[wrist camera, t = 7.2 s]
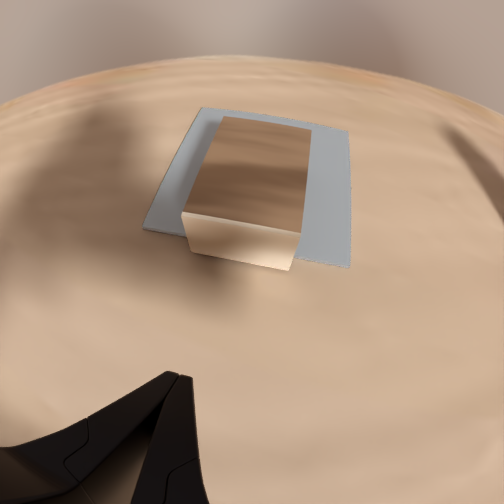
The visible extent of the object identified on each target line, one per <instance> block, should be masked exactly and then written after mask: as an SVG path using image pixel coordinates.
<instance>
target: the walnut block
mask: <svg viewBox="0 0 504 504" xmlns="http://www.w3.org/2000/svg"><path fill="white" fill-rule="evenodd" d="M311 132H312V130H309V129H304V128H299V127H293V126H288V125H282V124H277V123H271V122H264V121H258V120H251V119H243V118H236V117H227V116H223V118H222V121H221V123H220V125H219V127H218V129H217V131H216V134H215V136H214V138H213V140H212V142H211V145H210V147H209V149H208V151H207V154H206V156H205V158H204V160H203V163H202V165H201V167H200V170H199V172H198V175H197V177H196V179H195V182H194V184H193V187H192V189H191V191H190V194H189V196H188V199H187V201H186V204H185V206H184V209H183V212H182V214H181V218H182V222H183V225H184V229H185V232H186V236H187V239H188V243H189V246H190V250H191V252H194V253H199V254H204V255H209V256H215V257H220V258H225V259H230V260H235V261H240V262H245V263H250V264H255V265H261V266H266V267H271V268H276V269H282V270H287V271H289V268H290V265H291V262H292V260H293V257H294V254H295V251H296V249H297V246H298V243H299V240H300V237H301V229H302V220H303V212H304V203H305V194H306V185H307V175H308V165H309V155H310V144H311Z"/></svg>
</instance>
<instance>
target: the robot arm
mask: <svg viewBox="0 0 504 504" xmlns="http://www.w3.org/2000/svg"><path fill="white" fill-rule="evenodd" d="M0 504H209V501H208V498H207V494H206V491H205V487H204V484H203V478H202V472H201V465H200V459H199V448H198V438H197V428H196V416H195V403H194V389H193V378H192V377H190V376H186V375H182V374H181V375H179V374H178V373H175V372H171V371H165V372H164V373H162V374H161V375H159V376H157V377H156V378H154V379H152V380H151V381H149V382H147V383H146V384H144V385H142V386H141V387H139V388H137V389H136V390H134V391H132V392H130V393H129V394H127V395H125V396H124V397H122V398H120V399H118V400H117V401H115V402H113V403H111V404H110V405H108V406H106V407H104V408H103V409H101V410H99V411H97V412H95V413H94V414H92V415H90V416H88V417H87V418H84V419H82V420H81V421H79V422H77V423H75V424H73V425H71V426H69V427H67V428H65V429H62V430H60V431H57V432H55V433H52V434H50V435H47V436H44V437H42V438H39V439H36V440H33V441H30V442H27V443H24V444H21V445H17V446H13V447H0Z"/></svg>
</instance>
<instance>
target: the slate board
mask: <svg viewBox="0 0 504 504" xmlns="http://www.w3.org/2000/svg"><path fill="white" fill-rule="evenodd" d="M223 116H227V117H236V118H243V119H251V120H258V121H264V122H271V123H277V124H282V125H288V126H293V127H299V128H304V129H309V130H312V132H311V144H310V155H309V165H308V175H307V185H306V194H305V203H304V212H303V220H302V229H301V237H300V240H299V243H298V246H297V249H296V251H295V254H294V257H293V258H298V259H304V260H309V261H314V262H319V263H324V264H330V265H335V266H340V267H345V268H349V267H350V257H351V173H350V151H349V135H348V131H344V130H340V129H336V128H331V127H327V126H323V125H318V124H313V123H309V122H304V121H298V120H293V119H288V118H282V117H276V116H270V115H263V114H257V113H250V112H242V111H234V110H225V109H215V108H203V107H202V109H201V110H200V112H199V114H198V115H197V117H196V119H195V121H194V122H193V124H192V126H191V128H190V130H189V131H188V133H187V135H186V137H185V139H184V140H183V142H182V144H181V146H180V148H179V150H178V152H177V154H176V156H175V157H174V159H173V161H172V163H171V165H170V167H169V169H168V171H167V173H166V175H165V177H164V179H163V181H162V183H161V186H160V188H159V190H158V192H157V194H156V196H155V198H154V200H153V203H152V205H151V207H150V209H149V211H148V214H147V216H146V218H145V220H144V223H143V225H142V227H143V229H146V230H151V231H157V232H162V233H167V234H173V235H178V236H183V237H187V236H186V232H185V229H184V225H183V222H182V218H181V214H182V212H183V209H184V206H185V204H186V201H187V199H188V196H189V194H190V191H191V189H192V187H193V184H194V182H195V179H196V177H197V175H198V172H199V170H200V167H201V165H202V163H203V160H204V158H205V156H206V154H207V151H208V149H209V147H210V145H211V142H212V140H213V138H214V136H215V134H216V131H217V129H218V127H219V125H220V123H221V121H222V118H223Z"/></svg>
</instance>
